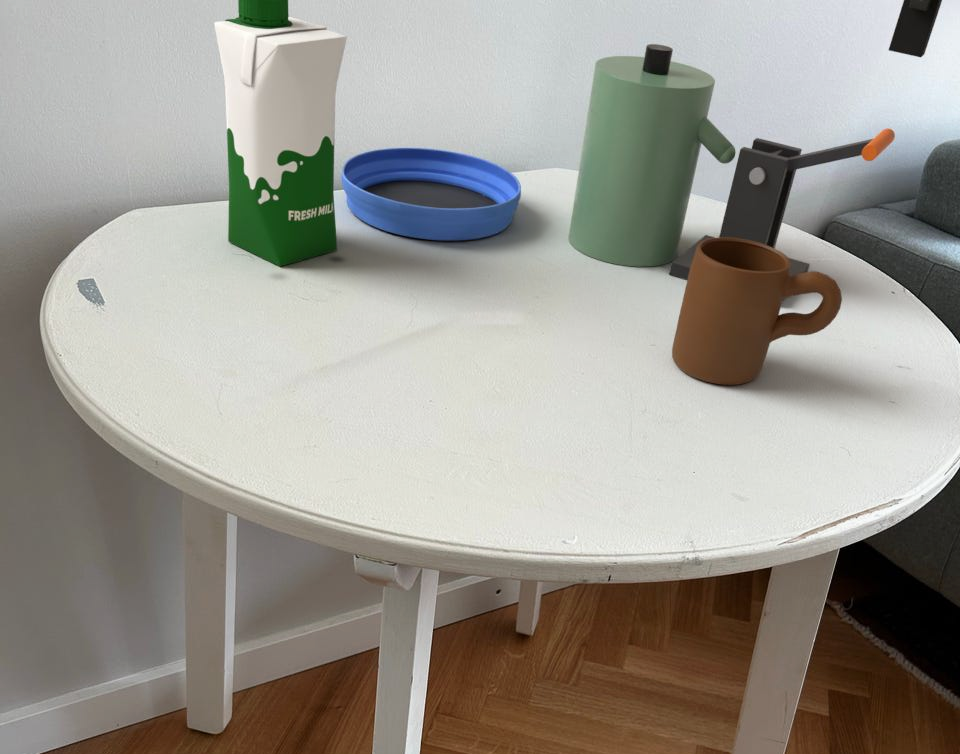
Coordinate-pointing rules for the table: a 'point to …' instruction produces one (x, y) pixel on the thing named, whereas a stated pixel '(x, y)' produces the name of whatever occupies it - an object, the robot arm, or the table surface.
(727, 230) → the dark grey stand
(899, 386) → the table surface
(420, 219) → the bowl
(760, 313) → the mug
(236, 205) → the milk carton
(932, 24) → the robot arm
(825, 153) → the switch
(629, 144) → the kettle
